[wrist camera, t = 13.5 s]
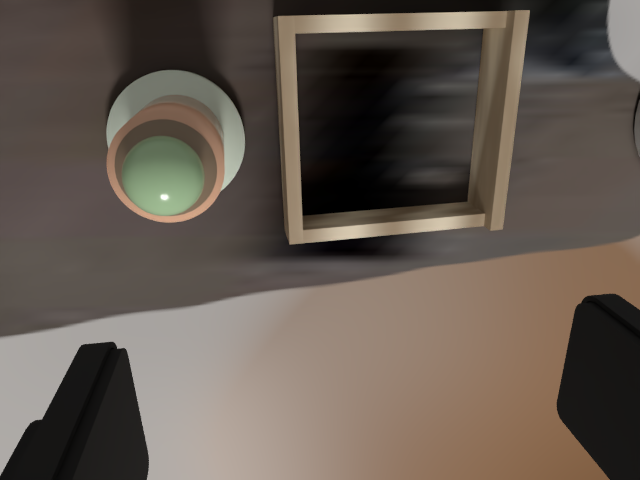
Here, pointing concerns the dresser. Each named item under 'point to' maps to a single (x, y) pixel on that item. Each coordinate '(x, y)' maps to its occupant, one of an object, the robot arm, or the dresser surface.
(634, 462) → the robot arm
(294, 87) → the wooden frame
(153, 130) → the terracotta pot
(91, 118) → the dresser surface
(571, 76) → the dresser surface
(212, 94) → the pale mint disc
